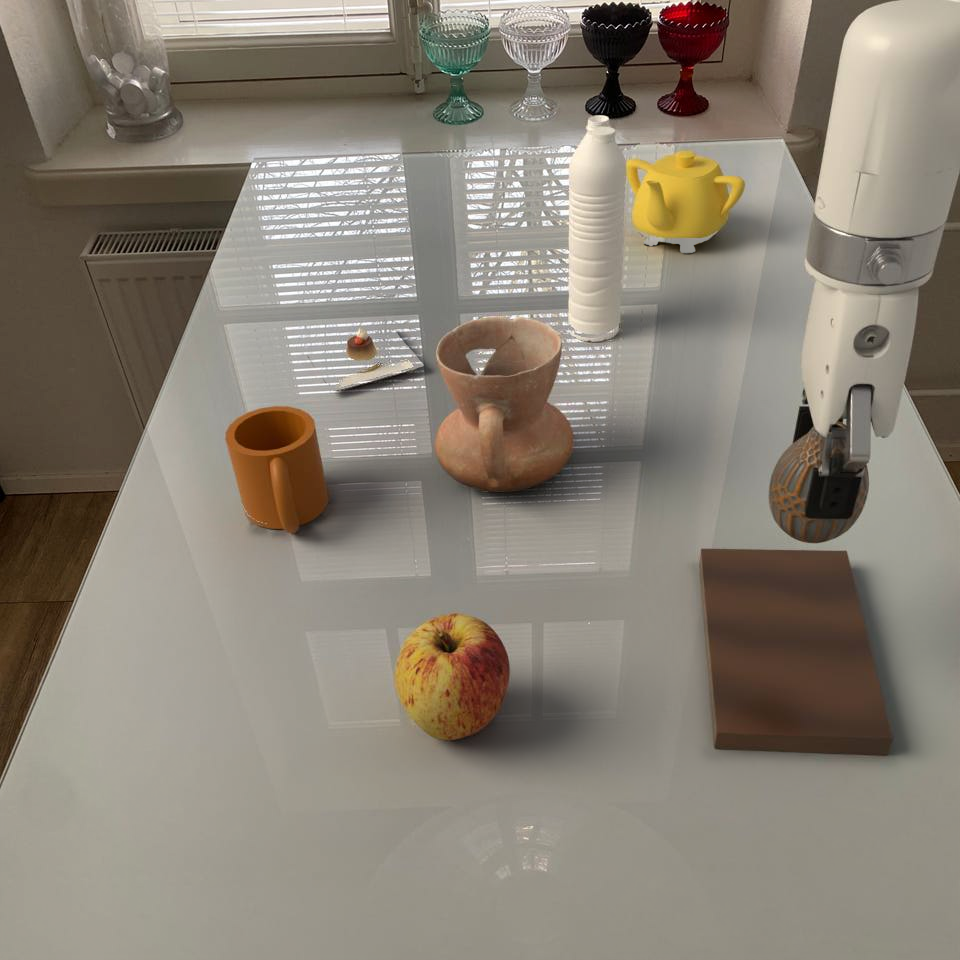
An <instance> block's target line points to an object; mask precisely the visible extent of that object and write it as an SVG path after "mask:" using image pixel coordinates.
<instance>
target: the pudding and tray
mask: <svg viewBox="0 0 960 960" xmlns="http://www.w3.org/2000/svg"><path fill="white" fill-rule="evenodd" d="M367 331H368V330H366V329H364V328H362V327H361V328H360V327H358V330H357V332H356V334H357V335H355V336H353V337H351V338H349V339H348V341H347V348H346V354H347V355H348V357H350V358H351V359H354V360H358V361H361V360H369V359H372V358H374V357H375V355H377V349H376V346H375V344H374V342H373V340H372V338H371V337H370V336H368V333H367ZM405 360H407V359H405ZM400 361H404V360H400ZM378 363H379V362H378ZM384 363H385V362H384ZM395 363H396V362H395ZM381 364H383V363H380V365H379V364H376V365H374V366H372V367H369V368H368V369H364V370H367V371H364V372H362V371H360V372H357V373H360V374H357V373H353V375H349V376H346V378H343V381H342V380H339V384H336V387H337V388H341V387H344V386H348V385H351V384H355V383H358V382H362V381H366V380H369V379H373V378H376V377H380V376H383V375H387V374H391V373H394V372H398V371H401V370H405V369H408V368H412V367H414V366H413V365H412V364H411V363H410V361H409V360H408V362H407V361H404V362H403V363H402V362H399V364H395V365H394V367H393V366H392V365H391V366H389V365H390V364H388V363H387V365H385V364H383V365H381ZM391 364H392V363H391ZM402 364H403V365H402ZM378 365H379V366H378ZM396 365H398V366H396ZM370 368H371V369H370ZM415 370H416V369H414V370H411V371H407V372H404V373H400V374H396V375H393V376H389V377H386V378H382V379H379V380H375V381H372V382H368V383H364V384H361V385H357V386H354V387H350V388H347V389H343V390H339V391H338V392H342V391H345V390H349V389H353V388H356V387H361V386H363V385H367V384H371V383H374V382H377V381H381V380H385V379H388V378H391V377H395V376H399V375H402V374H407V373H410V372H412V371H415ZM355 374H356V375H355ZM346 375H348V374H346ZM343 377H344V376H343ZM348 377H349V378H348ZM340 381H341V382H340ZM337 383H338V382H337Z"/></svg>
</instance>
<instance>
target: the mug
mask: <svg viewBox="0 0 960 960" xmlns="http://www.w3.org/2000/svg"><path fill="white" fill-rule="evenodd" d="M225 444H226V448H227V451H228V453H229V458H230V462H231V466H232V471H233V473H234V474H233V475H234V477H235V480H236V481H235V482H236V484H237V485H236V486H237V489H238V493H239V496H240V500H241V504H242V507H243V506H244V508H245V510H246V511H247V513H248V515H250V516H251V517H252V518H254V519H255V520H254V519H252V518H251V517H249V516H248V515H247V513H246V512H245V510H244V508H243V511H244V514H245V516H246V518H248V520H249V521H250V522H252V523H253V524H255V525H257V526H259V527H262V528H265V529H270V530H271V529H273V530H275V529H276V530H284V531H285V533H288V534H295V533H297V532H298V530H299V528H300V527H301V526H302V525H305V524H307V523H310V522H312V521H313V520H315V519H316V518H318V517H319V516H321V514H322V513H323V512H324V511H325V510H326V509H327V506H328V504H329V500H330V499H329V493H328V488H327V481H326V477H325V472H324V466H323V461H322V454H321V449H320V445H319V440H318V433H317V429H316V423H315V419H314V418H313V417H312V416H311V415H310V413H308V412H307V411H305V410H302V409H301V408H297V407H292V406H288V405H287V406H286V405H284V406H283V405H273V406H266V407H261V408H256V409H254V410H250V411H248V412H245V413H244V414H242V415H241V416H239V417H237V418H236V419H234V421H232V422H231V423H230V424H229V426H228V428H227V429H226V430H225ZM256 520H257V521H260V522H257V521H256ZM261 522H263V523H261ZM265 523H267V524H265Z"/></svg>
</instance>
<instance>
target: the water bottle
mask: <svg viewBox="0 0 960 960" xmlns="http://www.w3.org/2000/svg"><path fill="white" fill-rule="evenodd" d="M585 129H586V133H585V135H584V136H583V138H582V139H581V141H580V142H579V144H578V146H577V148H576V149H575V151H574V152H573V154H572V155H571V158H570V161H569V164H568V186H569V188H568V201H569V202H568V250H569V251H568V277H569V278H568V285H567V286H568V314H567V315H568V316H567V317H568V319H567V322H568V321H569V324H570V325H571V327H573V328H574V329H575V330H577V331H579V332H582V333H585V334H596V335H599V334H603V333H607V332H610V331H611V330H613V329H615V328H616V327H617V326H618V325H619V323H620V324H621V306H622V296H621V295H622V288H623V287H622V279H623V267H622V266H623V259H624V252H623V249H624V242H625V241H624V238H625V237H624V235H625V234H624V232H625V231H624V228H625V205H626V201H625V199H626V182H627V175H626V163H627V161H626V157H625V155H624V152H623V151H622V149H621V148H620V146H619V144H618V143H617V140H616V129H615V128H613V127H612V125H611V124H610V118H609V116H606V115H602V114H601V115H597V114H596V115H591V116H589V118H588V120H587V125H586V126H585ZM567 329H568V333H569V334H570V335H571V336H572V337H573V338H576V339H577V340H579V341H582V342H592V343H596V342H599V343H600V342H603V341H604V340H605V341H607V340H610V339H612V338H614V337H615V336H616V335H617V334H618V333H619V332H620V329H621V327H620V328H619V329H618V331H616V332H615V333H613V334H611V335H609V336H606V337H600V338H586V337H581V336H578V335H575V334H574V333H572V332H571V331H570V330H569V328H567Z"/></svg>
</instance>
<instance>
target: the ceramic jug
mask: <svg viewBox="0 0 960 960" xmlns="http://www.w3.org/2000/svg"><path fill="white" fill-rule="evenodd" d="M491 349H492V350H495V351H494V352H493V354H492V355H491V356H490V357H489V358H488V359H487V361H486V363H485V365H484V367H483V369H482V370H481V373H480V374H477V373H476V372H475V370H474V369H473V368H472V365H471V363H470V361H469V359H468V358H467V355H468V354H469V353H470V352H471V351H476V350H491ZM562 351H563V341H562V338H561V336H560V334H559V332H558V331H557V330H556V329H555V328H553V327H552V326H551V325H549V324H548V323H546V322H543V321H540V320H537V319H535V318H531V317H525V316H516V317H515V318H514V319H511V318H509V317H507V316H506V315H495V316H494V315H493V316H485V317H481V318H476V319H472V320H470V321H469V320H468V321H466V322H465V323H462V324H460V325H458V326H456V327H455V328H454V329H452V330H451V331H448V332H447V333H446V334H445V335H444V336H442V337H441V339H440V341H439V342H438V344H437V346H436V351H435V353H436V354H435V355H436V361H437V365H438V369H439V372H440V374H441V377H442V380H443V382H444V384H445V386H446V388H447V390H448V391H449V393H450V396H451V397H452V399H453V401H454V402H455V404H456V406H457V408H456V409H455V410H453V411H452V412H451V413H450V414H448V416H446V418H445V419H444V420H443V421H442V422H441V424H440V426H439V428H438V430H437V432H436V436H435V440H434V450H435V455H436V458H437V461H438V462H439V464H440V466H441V467H442V469H443V470H444V471H445V473H447V475H449V476H450V477H451V478H452V479H454V481H457V482H458V483H460V484H463V485H465V486H467V487H469V488H473V489H477V490H481V491H486V492H492V493H508V492H516V491H523V490H526V489H530V488H534V487H536V486H539V485H541V484H543V483H545V482H548V481H549V480H550V479H552V478H554V477H555V476H556V475H557V474H558V473H560V471H562V469H563V468H564V467H565V466H566V464H567V463H568V461H569V460H570V457H571V454H572V452H573V448H574V442H575V441H574V440H575V439H574V431H573V428H572V426H571V423H570V422H569V420H568V418H567V417H566V416H565V414H564V413H563V412H562V411H561V410H560V409H559V408H558V407H556V406H555V405H553V404H551V403H550V402H548V399H549V398H550V395H551V393H552V390H553V388H554V385H555V382H556V379H557V376H558V371H559V367H560V364H561V360H562V353H563V352H562Z"/></svg>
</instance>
